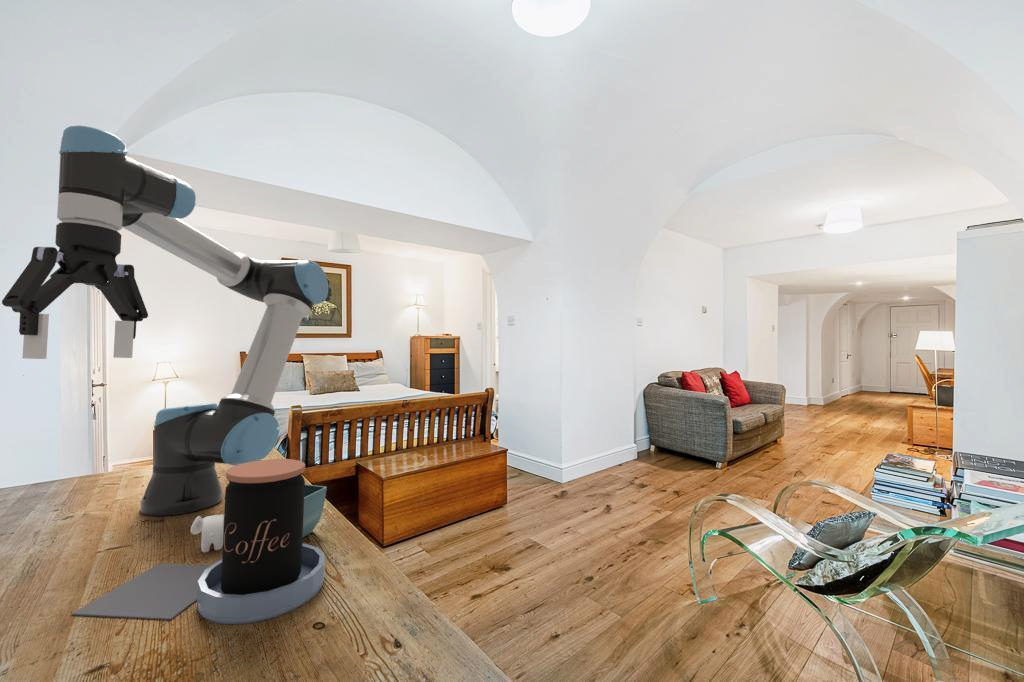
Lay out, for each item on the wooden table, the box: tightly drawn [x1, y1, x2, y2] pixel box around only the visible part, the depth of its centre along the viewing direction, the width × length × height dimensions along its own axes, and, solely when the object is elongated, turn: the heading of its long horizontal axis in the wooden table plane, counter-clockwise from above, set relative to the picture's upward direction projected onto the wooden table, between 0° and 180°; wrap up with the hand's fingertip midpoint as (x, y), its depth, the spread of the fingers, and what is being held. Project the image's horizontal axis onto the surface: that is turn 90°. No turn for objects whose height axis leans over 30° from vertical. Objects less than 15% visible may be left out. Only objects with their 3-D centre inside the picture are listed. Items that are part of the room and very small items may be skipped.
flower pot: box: [303, 483, 328, 538], centre depth 85 cm, size 9×9×9 cm
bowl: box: [196, 542, 326, 625], centre depth 66 cm, size 17×17×4 cm
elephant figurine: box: [190, 514, 224, 553], centre depth 79 cm, size 7×8×6 cm
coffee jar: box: [221, 458, 306, 595], centre depth 66 cm, size 11×11×18 cm
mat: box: [71, 563, 211, 621], centre depth 65 cm, size 14×14×1 cm
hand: (83, 358), depth 69 cm, fingers open, 13 cm apart
